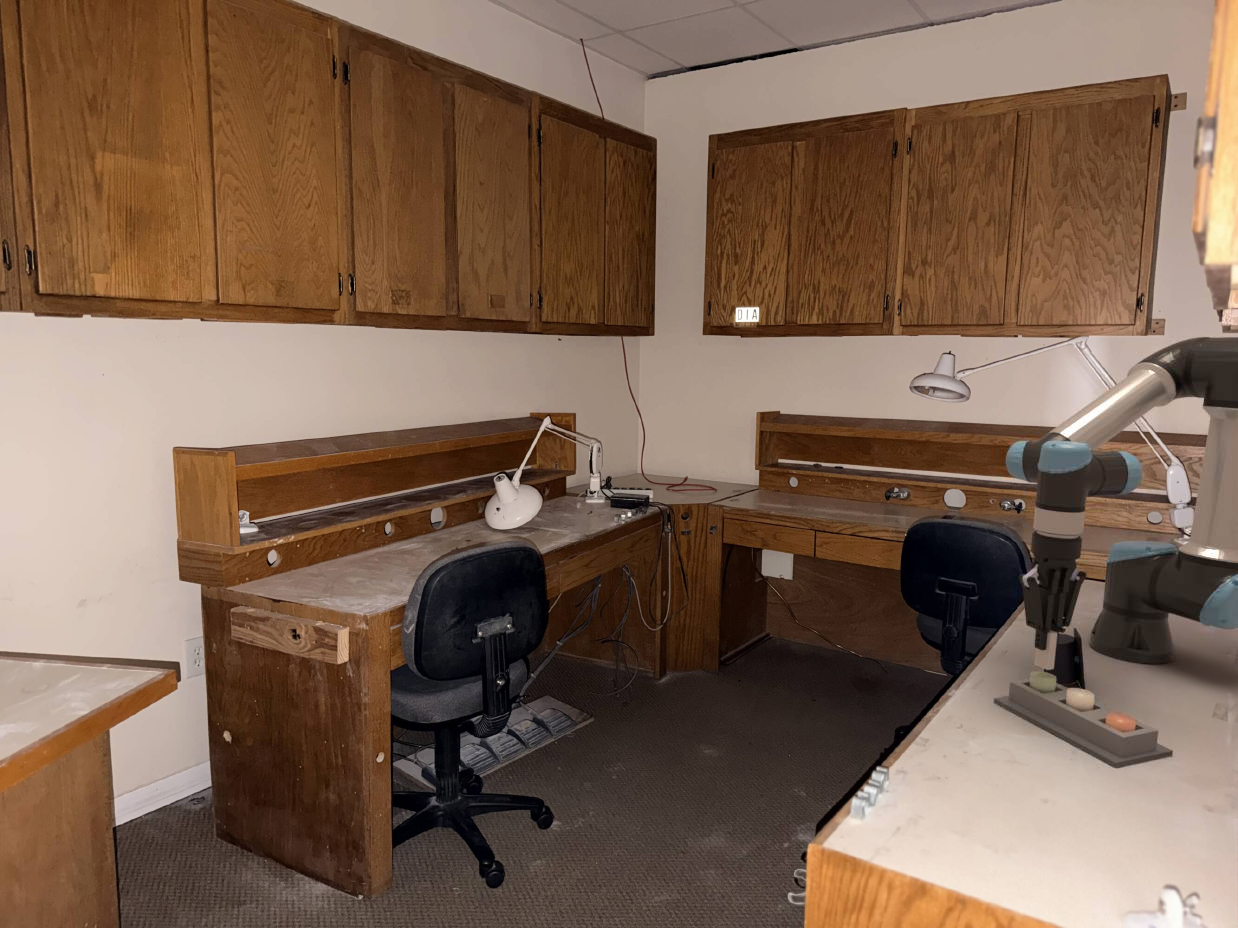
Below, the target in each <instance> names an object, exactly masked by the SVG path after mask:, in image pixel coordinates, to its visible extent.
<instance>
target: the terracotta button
mask: <svg viewBox="0 0 1238 928" xmlns="http://www.w3.org/2000/svg"><path fill="white" fill-rule="evenodd" d="M1120 713H1121V712H1120ZM1120 713H1108V714H1107V715H1106V723H1105V724H1106V725H1108V726H1110V727H1112V728H1114V729H1116V730H1118V731H1120V732H1123V733H1124V732H1129V731H1134V730H1135V726H1136V719H1135V718H1133V717H1132V716H1129V715H1128V714H1124V713H1122V714H1120Z"/></svg>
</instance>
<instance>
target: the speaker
mask: <svg viewBox="0 0 1238 928" xmlns="http://www.w3.org/2000/svg"><path fill="white" fill-rule="evenodd" d="M1072 629H1073V635H1070V634H1067V633H1059V638H1058V646H1057V648H1056V651H1055V661H1054V669H1050V670H1046V669H1044V668H1043V672H1047V673H1050V674H1053V675H1055V676H1056V683H1058V684H1060V685H1062V686H1068V685H1069V686H1070V685H1073V684H1076V683H1078V685H1079V687H1080V689H1084V690H1086V684H1085V681H1086V680H1085V671H1084V670H1085V667H1084V655H1083V643H1082V637H1081V635H1080V633H1079V630H1078V629H1077V628H1076V627H1073V628H1072Z"/></svg>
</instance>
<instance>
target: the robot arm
mask: <svg viewBox="0 0 1238 928" xmlns="http://www.w3.org/2000/svg"><path fill="white" fill-rule="evenodd" d="M1184 398H1198V399H1203V403H1202V409H1203V410H1204V411H1205V413H1207V414H1208V415H1209V417H1210V420H1209V424H1208V431H1207V436H1206V443H1205V448H1204V455H1203V461H1202V467H1201V471H1200V472H1201V473H1200V478H1199V484H1198V490H1197V495H1196V502H1195V508H1194V514H1193V518H1192V519H1193V520H1192V525H1191V531H1190V536H1189V537H1190V538H1189V540H1188V542H1187V543H1185V544H1183V545H1181V546H1179V548H1178V549H1177V546H1176V545H1175V544H1173V543H1170V542H1164V541H1155V540H1154V541H1151V540H1125V541H1118V542H1115V543H1113V544H1112V545H1110V547H1109V548H1108V549H1109V551H1108V555H1107V560H1106V561H1105V562H1106V563H1105V564H1106V567H1105V568H1106V571H1105V580H1104V589H1103V603H1102V608H1101V611H1100V614H1099V615H1098V617H1097V619H1096V621H1095V623H1094V624H1093V628H1092V629H1091V630H1090V631H1091V632H1090V634H1089V642H1088V643H1089V646H1090V647H1091V648H1092V649H1093V650H1095V651H1097V652H1099V653H1101V654H1103V655H1106V656H1108V657H1112V658H1115V659H1118V660H1123V661H1128V662H1134V663H1141V664H1153V665H1155V664H1159V665H1160V664H1161V665H1162V664H1167V663H1170V662H1172V661H1174V659H1175V653H1176V652H1175V651H1176V647H1175V644H1174V640H1173V635H1172V631H1171V627H1170V622H1169V614H1170V615H1171V614H1172V615H1174V616H1178V617H1182V618H1184V619H1187V620H1190V621H1194V622H1197V623H1201V624H1202V625H1203V626H1208V627H1209V626H1210V627H1215V628H1219V629H1221V630H1235V629H1237V628H1238V336H1237V337H1236V336H1235V337H1233V336H1232V337H1229V336H1228V337H1227V336H1223V337H1221V336H1220V337H1214V336H1213V337H1209V336H1199V337H1192V338H1188V339H1184V340H1180V341H1178V342H1176V343H1175V342H1174V343H1172V344H1170V345H1168V346H1165V347H1163V348H1162V349H1160V350H1158V351H1155V352H1154V353H1151V354H1150V355H1148V356H1147V357H1145V358H1143V359H1142V360H1140V361H1139V362H1137V363H1135V364H1134V366H1132V367H1130V369H1129V370H1128V372H1127V374H1126V377H1125V378H1123V379H1122V380H1121V381H1120V382H1118V383H1117V384H1115V385H1113V386H1112V387H1111V388H1110V389H1108V390H1107V391H1105V392H1103V394H1101V395H1100V396H1098V397H1097V398H1095V399H1094V400H1093V401H1091V402H1090V403H1088V404H1087V405H1086V406H1084V407H1083V408H1081V409H1080V410H1079V411H1077V412H1076V413H1074V414H1073V415H1072V416H1070V417H1069V418H1067V419H1066V420H1064V421H1063V422H1062V423H1061V424H1059V425H1057V426H1056V427H1055V428H1054V429H1052V430H1050V431H1049V432H1047V433H1046V434H1045V435H1043V436H1042V437H1041V438H1039V439H1038V440H1035V441H1033V440H1018V441H1016V442H1014V443H1013V444H1012V445H1011V446H1010V447H1009V449H1008V450H1007V453H1006V456H1005V465H1006V469H1007V472H1008V473H1009V474H1010V476H1012V477H1013V478H1014V479H1017V480H1020V481H1025V482H1028V483H1031V484H1036V485H1037V486H1036V496H1035V497H1036V498H1035V502H1034V503H1035V504H1034V517H1033V525H1032V526H1033V529H1034V530H1035V531H1033V532H1032V533H1031V542H1030V543H1031V544H1030V552H1031V553H1032V555H1033V561H1032V563H1031V566H1030V568H1031V570H1029V571H1028V572H1027V573H1026V574H1025V573H1020V574H1019V576H1018V580H1019V582H1020V584H1021V587H1022V595H1023V604H1024V615H1025V624H1026V626H1027V627H1030V628H1032V629H1034V630H1035V635H1034V636H1035V638H1034V648H1035V654H1034V665H1035V666H1037V667H1040V668H1041V669H1043V670H1044V669H1046V670H1050V669H1054V661H1055V651H1056V648H1057V646H1058V638H1059V634H1065V632H1066V631H1067V630H1066V628H1068V627H1070V626H1071V622H1072V619H1073V616H1074V612H1075V610H1076V609H1075V608H1076V605H1077V601H1078V598H1079V594H1080V591H1081V588H1082V585H1083V583H1084V582H1085V580H1086V578H1087V576H1088V575H1087V572H1085V571H1082V570H1080V569H1078V568H1077V561H1076V560H1078V559H1080V557H1081V555H1082V544H1083V538H1082V537H1081V535H1083V534H1084V531H1085V530H1084V528H1085V517H1086V506H1087V505H1086V504H1087V498H1090V497H1106V496H1107V497H1109V496H1112V497H1116V496H1120V495H1124V494H1129V493H1131V492H1133V491H1134V490H1136V489H1137V488H1138V487H1139V486H1140V484H1141V482H1142V478H1143V468H1142V467H1143V466H1142V464H1141V462H1140V460H1139V459H1138V457H1136V456H1135V455H1133V454H1132V453H1130V452H1127V451H1118V450H1117V451H1116V450H1109V451H1103V450H1102V451H1101V450H1097V449H1098V448H1099V449H1100V447H1101V446H1103V445H1104V444H1106V443H1107V442H1108V441H1110V440H1112V439H1113V438H1114V437H1116V436H1117V435H1118V434H1120V433H1121V432H1122V431H1124V430H1125V429H1127V428H1128V427H1130V426H1131V425H1132V424H1134V422H1136V421H1137V420H1138V419H1140V418H1142V416H1144V415H1145V414H1147V413H1148V412H1150V411H1151V410H1153V408H1156V407H1157V408H1158V407H1159V408H1160V407H1165V406H1167V405H1168V404H1170V403H1171V402H1173V401H1174V400H1178V399H1184ZM1064 627H1066V628H1064Z"/></svg>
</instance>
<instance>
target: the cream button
mask: <svg viewBox="0 0 1238 928" xmlns="http://www.w3.org/2000/svg"><path fill="white" fill-rule="evenodd" d="M1094 701H1095V694H1094V692H1092V691H1090V690H1087V689H1085V690H1084V689H1081V687H1080V688H1079V687H1078V688H1077V687H1068V689H1067V695H1066V705H1067V706H1069V707H1071V708H1073V709H1076V710H1078V711H1080V712H1085V711H1090V710H1093V706H1094Z"/></svg>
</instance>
